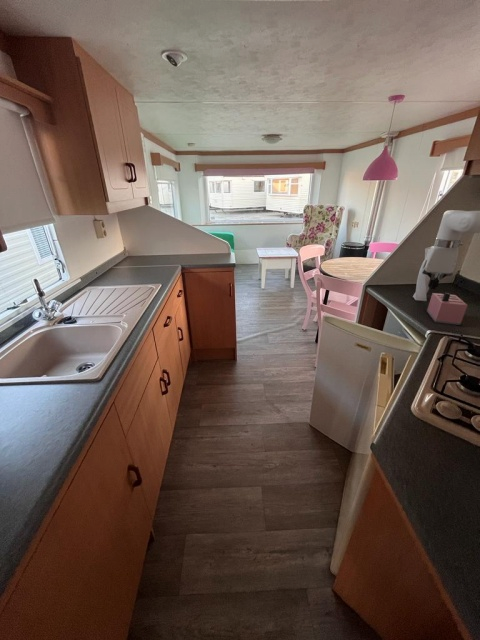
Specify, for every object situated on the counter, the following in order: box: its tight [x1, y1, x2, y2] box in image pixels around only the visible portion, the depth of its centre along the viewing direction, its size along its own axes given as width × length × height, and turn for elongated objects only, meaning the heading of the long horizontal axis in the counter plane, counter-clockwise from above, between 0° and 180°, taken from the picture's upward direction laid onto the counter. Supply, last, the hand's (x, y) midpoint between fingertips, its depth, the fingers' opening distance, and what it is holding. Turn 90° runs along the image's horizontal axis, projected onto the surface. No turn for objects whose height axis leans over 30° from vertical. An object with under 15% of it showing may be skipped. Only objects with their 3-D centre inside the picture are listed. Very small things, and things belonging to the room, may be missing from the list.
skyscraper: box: [412, 246, 437, 302], centre depth 134 cm, size 8×7×28 cm
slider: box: [442, 292, 451, 301], centre depth 112 cm, size 2×2×3 cm
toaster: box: [426, 292, 468, 326], centre depth 117 cm, size 9×13×9 cm
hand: (431, 288), depth 112 cm, fingers closed
